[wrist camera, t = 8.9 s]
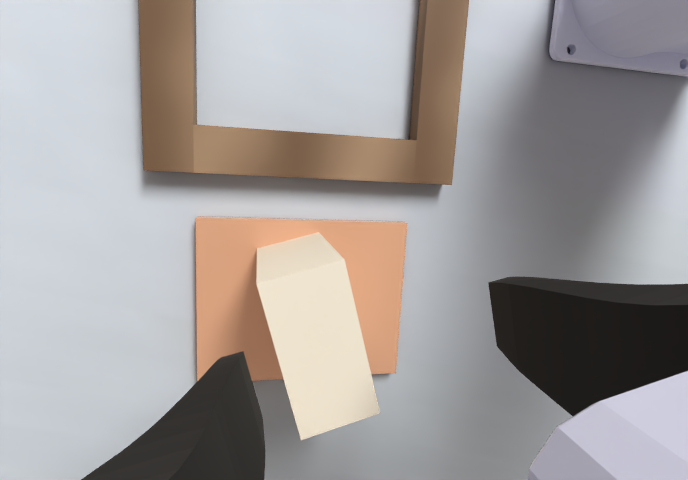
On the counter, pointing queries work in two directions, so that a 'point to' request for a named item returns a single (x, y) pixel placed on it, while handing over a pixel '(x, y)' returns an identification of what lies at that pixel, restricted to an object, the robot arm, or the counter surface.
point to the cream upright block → (316, 333)
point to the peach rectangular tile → (245, 303)
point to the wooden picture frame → (298, 147)
